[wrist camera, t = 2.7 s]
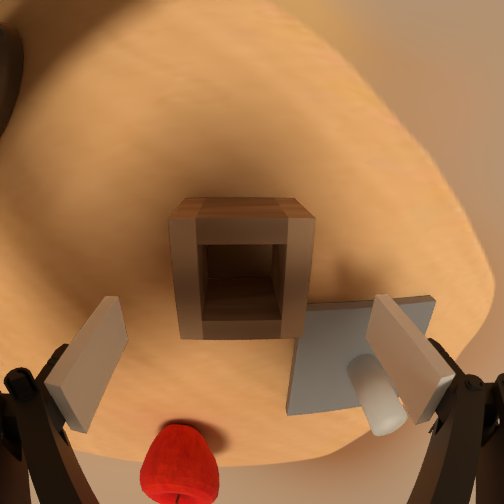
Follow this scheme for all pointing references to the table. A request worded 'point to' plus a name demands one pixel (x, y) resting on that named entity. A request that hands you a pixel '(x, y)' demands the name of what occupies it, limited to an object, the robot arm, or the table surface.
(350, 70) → the table surface
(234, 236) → the frame
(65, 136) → the table surface
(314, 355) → the stand
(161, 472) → the apple
